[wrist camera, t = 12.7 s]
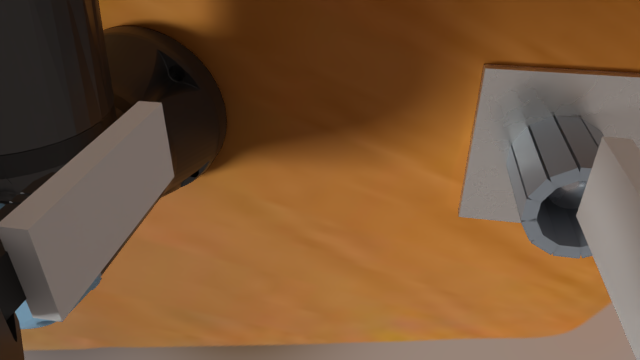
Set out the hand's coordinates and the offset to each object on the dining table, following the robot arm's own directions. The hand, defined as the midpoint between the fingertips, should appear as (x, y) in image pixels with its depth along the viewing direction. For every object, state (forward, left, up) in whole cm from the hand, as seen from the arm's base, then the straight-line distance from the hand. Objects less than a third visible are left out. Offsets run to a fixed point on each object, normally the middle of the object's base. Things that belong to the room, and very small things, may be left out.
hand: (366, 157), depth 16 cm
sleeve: (+14, -13, -26) cm, 32 cm away
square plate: (+14, -13, -27) cm, 33 cm away
